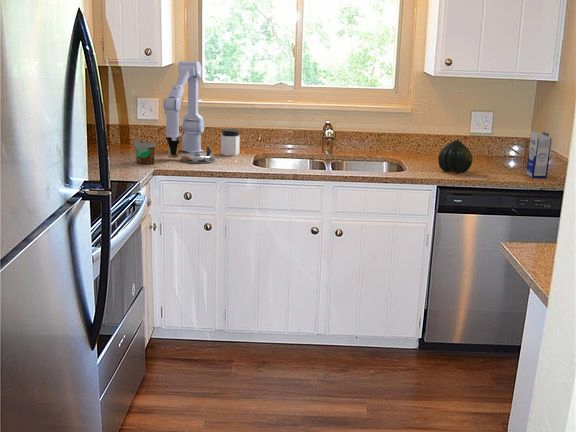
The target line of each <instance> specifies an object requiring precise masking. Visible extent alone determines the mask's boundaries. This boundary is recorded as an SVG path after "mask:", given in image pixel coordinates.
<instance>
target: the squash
mask: <svg viewBox="0 0 576 432" xmlns="http://www.w3.org/2000/svg"><path fill="white" fill-rule="evenodd" d="M437 162H438V166H439V168H440V169H441V170H442V171H443V172H451V171H452V172H454V173H455V174H457V175H459V174H461V173H463V174H464V173H466V172H467V171H468V170H470V168H471V166H472V163H473V154H472V151H470V149H469V148H468V147H467V146H466V145H465V144H463V142H462V141H461V140H459V139H456V140H453V141H451V142H450V143H448V144H446V145H445V146H444V147H443V148H441V150H440V152H439V154H438V158H437Z"/></svg>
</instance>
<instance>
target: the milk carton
mask: <svg viewBox="0 0 576 432" xmlns="http://www.w3.org/2000/svg"><path fill="white" fill-rule="evenodd" d="M529 140H530V142H529V148H528V157H527V164H526V171H525V175H526V176H527V177H530V178H532V179H547V178H548V172H549V165H550V157H551V150H552V143H553V137H551V136H550V133H548V132H545V131H542V133H539V132H537V131H533V130H531V134H530V139H529Z"/></svg>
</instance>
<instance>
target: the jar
mask: <svg viewBox="0 0 576 432" xmlns="http://www.w3.org/2000/svg"><path fill="white" fill-rule="evenodd" d="M221 131H222V132H221V136H220V141H221V142H220V143H221V144H220V154H221V156H222V155H223V156H227V157H231V156H232V157H236V156H239V155H240V143H241V142H240V140H241V139H240V137H241V136H240V130H239V129H235V128H224V129H222V130H221Z"/></svg>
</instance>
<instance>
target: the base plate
mask: <svg viewBox="0 0 576 432" xmlns="http://www.w3.org/2000/svg"><path fill="white" fill-rule="evenodd" d="M180 162H182V163H185V164H192V165H203V164H205V163H206V164H212V163H215V162H216V158H215V159H214V160H210V161H207V162H205V161H198V162H193V161H184V160H183V159H181V158H180Z"/></svg>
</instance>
